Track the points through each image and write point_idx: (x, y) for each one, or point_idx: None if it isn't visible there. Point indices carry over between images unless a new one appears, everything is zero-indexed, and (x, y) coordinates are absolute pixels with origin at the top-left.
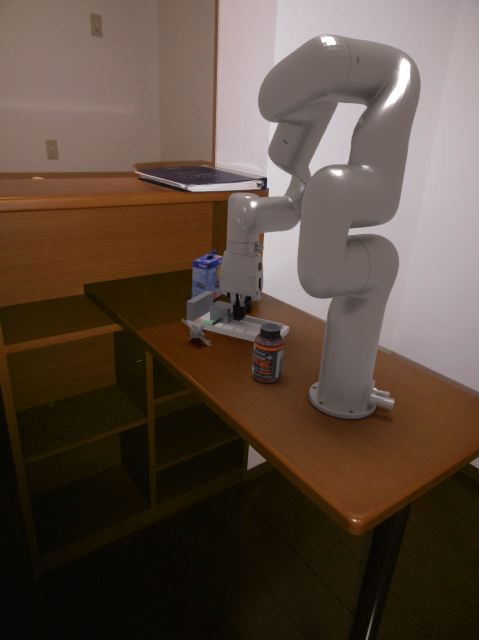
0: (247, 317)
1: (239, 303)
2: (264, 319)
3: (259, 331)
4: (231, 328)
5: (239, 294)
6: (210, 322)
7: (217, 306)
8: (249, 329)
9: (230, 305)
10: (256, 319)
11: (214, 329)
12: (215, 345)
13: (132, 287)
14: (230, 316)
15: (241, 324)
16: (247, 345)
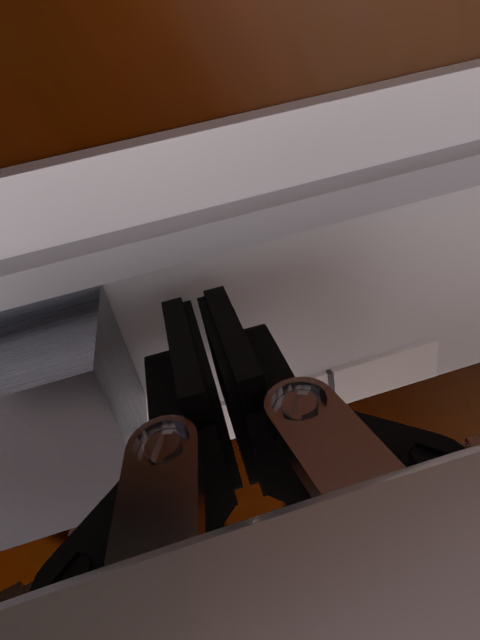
0: (234, 248)
1: (266, 491)
2: (400, 175)
3: (404, 314)
4: (232, 427)
5: (198, 511)
6: None
7: (18, 539)
8: (330, 339)
9: (85, 431)
10: (329, 223)
11: None
12: (243, 513)
13: None
14: (129, 383)
15: None
16: (371, 411)
